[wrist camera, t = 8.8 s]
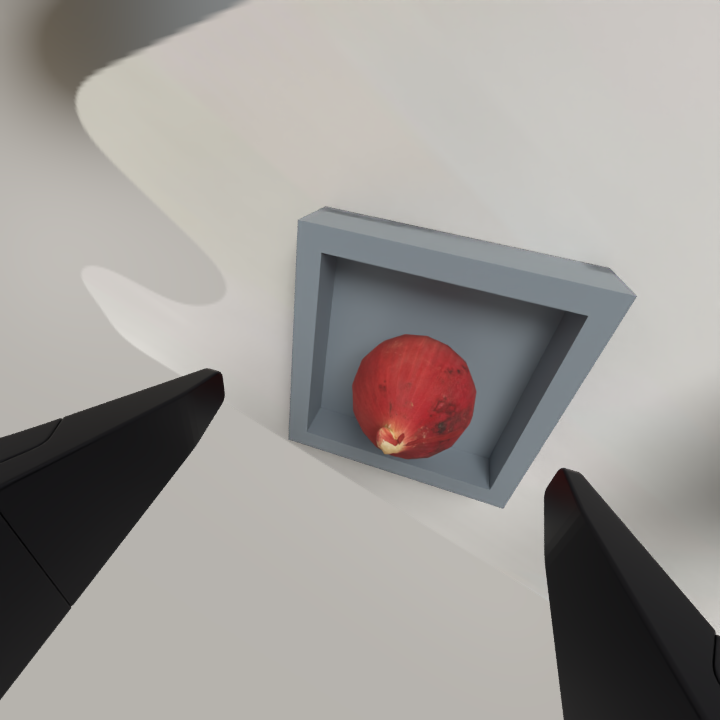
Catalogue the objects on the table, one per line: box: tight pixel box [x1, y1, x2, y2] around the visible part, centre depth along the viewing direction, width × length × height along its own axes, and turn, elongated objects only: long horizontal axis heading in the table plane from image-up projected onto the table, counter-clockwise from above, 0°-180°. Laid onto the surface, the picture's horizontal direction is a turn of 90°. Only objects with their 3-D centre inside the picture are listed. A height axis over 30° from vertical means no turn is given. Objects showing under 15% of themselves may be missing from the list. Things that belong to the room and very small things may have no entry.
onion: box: [352, 334, 476, 460], centre depth 17 cm, size 6×6×8 cm
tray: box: [289, 207, 637, 508], centre depth 20 cm, size 14×14×4 cm
